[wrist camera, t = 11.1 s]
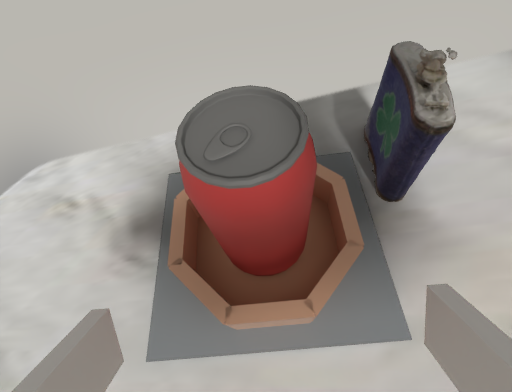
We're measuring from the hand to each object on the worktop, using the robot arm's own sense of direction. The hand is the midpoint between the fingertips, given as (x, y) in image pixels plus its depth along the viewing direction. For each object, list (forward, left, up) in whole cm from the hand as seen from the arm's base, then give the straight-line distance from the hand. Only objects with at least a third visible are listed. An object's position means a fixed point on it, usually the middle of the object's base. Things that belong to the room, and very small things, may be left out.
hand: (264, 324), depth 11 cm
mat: (0, -7, -9) cm, 11 cm away
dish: (0, -7, -8) cm, 11 cm away
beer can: (0, -7, -8) cm, 11 cm away
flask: (-12, -14, -9) cm, 20 cm away
